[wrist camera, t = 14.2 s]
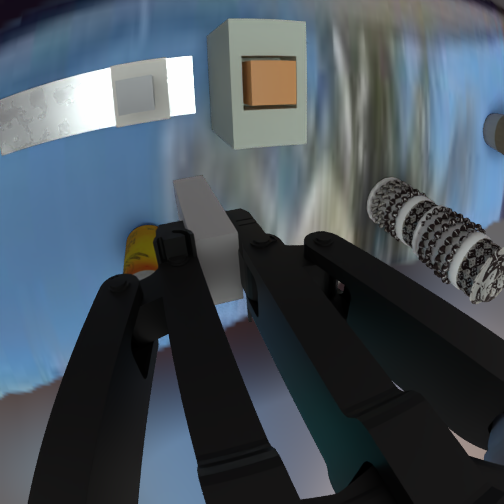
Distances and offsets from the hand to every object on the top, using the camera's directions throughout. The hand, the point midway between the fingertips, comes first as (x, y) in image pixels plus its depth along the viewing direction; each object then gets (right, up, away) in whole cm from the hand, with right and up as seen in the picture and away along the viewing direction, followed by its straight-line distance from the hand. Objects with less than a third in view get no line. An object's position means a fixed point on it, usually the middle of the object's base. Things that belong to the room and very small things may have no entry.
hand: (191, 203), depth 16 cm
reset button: (+4, +14, +13) cm, 19 cm away
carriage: (-9, +15, +15) cm, 24 cm away
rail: (-16, +15, +15) cm, 27 cm away
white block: (+1, +18, +19) cm, 27 cm away
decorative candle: (+25, +6, +35) cm, 44 cm away
